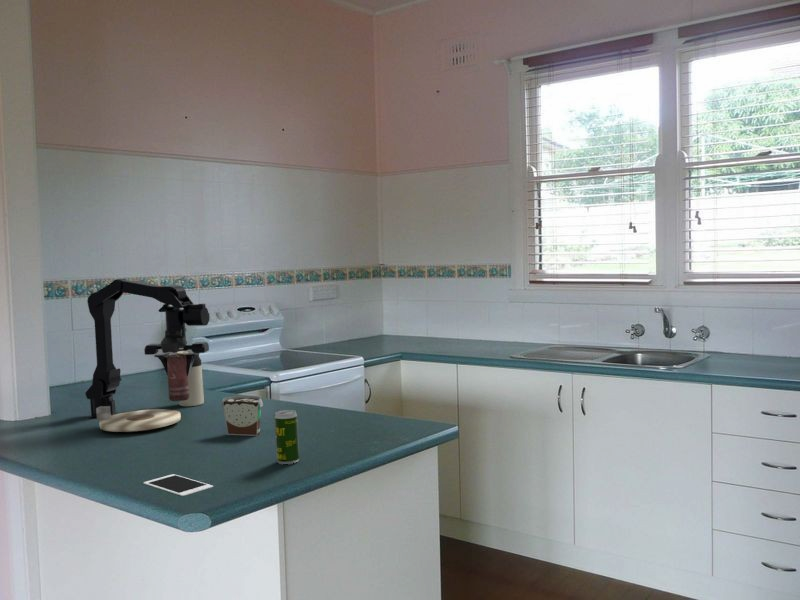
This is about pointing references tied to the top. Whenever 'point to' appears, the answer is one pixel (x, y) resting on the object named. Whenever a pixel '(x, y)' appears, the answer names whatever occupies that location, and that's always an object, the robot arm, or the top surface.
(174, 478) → the cell phone
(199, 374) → the travel mug
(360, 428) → the top surface
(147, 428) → the turntable
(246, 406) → the food container
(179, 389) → the can
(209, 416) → the top surface
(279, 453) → the beer can
